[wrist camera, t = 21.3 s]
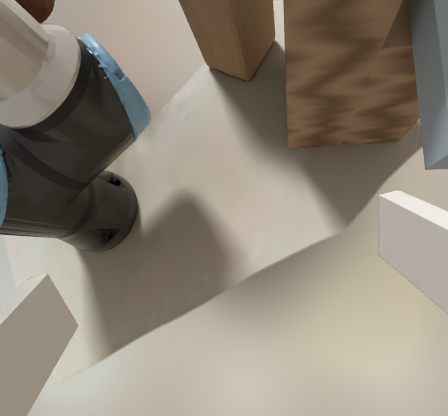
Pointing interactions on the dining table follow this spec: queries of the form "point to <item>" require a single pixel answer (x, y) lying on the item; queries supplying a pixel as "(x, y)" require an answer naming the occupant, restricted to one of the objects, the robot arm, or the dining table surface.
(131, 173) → the dining table surface
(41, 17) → the brown pot
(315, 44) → the walnut stand
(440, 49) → the slate rail
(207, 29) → the wooden block
